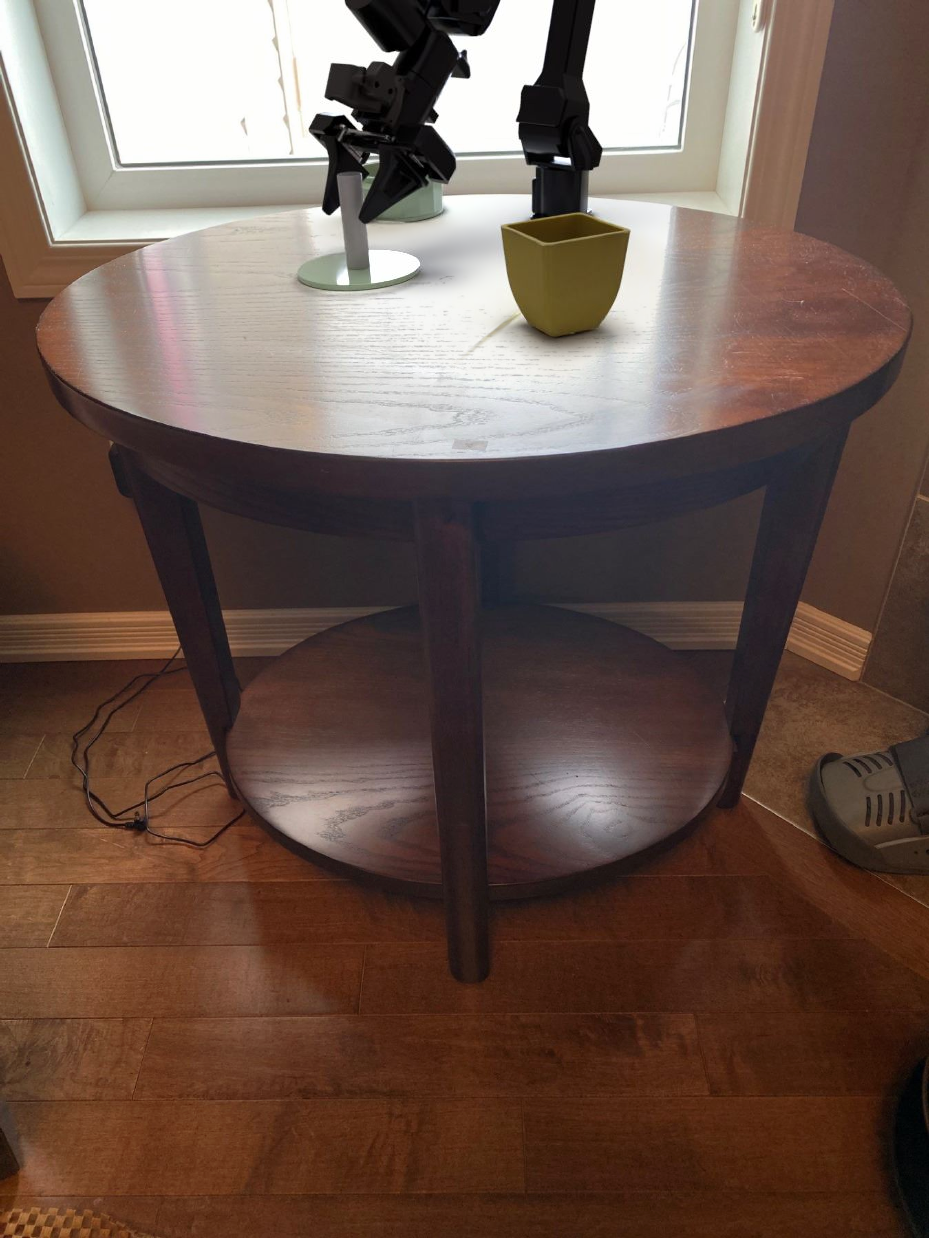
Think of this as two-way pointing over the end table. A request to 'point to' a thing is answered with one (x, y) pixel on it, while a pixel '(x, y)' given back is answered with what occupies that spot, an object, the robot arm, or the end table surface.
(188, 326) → the end table surface
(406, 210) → the pot
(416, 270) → the lid
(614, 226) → the flower pot
